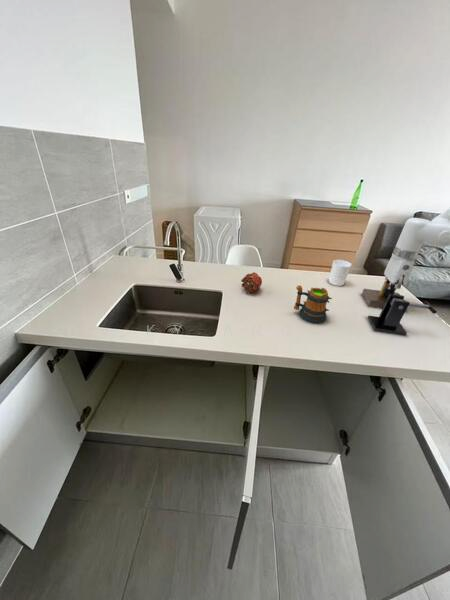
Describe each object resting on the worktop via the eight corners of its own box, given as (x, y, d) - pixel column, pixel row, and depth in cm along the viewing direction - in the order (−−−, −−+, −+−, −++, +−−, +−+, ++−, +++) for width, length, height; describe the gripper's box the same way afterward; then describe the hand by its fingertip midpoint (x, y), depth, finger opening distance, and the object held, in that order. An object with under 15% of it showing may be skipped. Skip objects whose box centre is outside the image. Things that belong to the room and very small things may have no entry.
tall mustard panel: (390, 296, 100) (396, 283, 97) (391, 297, 99) (397, 285, 96) (378, 294, 101) (384, 282, 98) (379, 296, 100) (385, 284, 97)
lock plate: (395, 298, 105) (398, 292, 103) (405, 311, 96) (409, 304, 95) (361, 294, 107) (363, 288, 105) (368, 306, 98) (371, 299, 97)
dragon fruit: (249, 300, 101) (248, 290, 112) (267, 290, 98) (264, 281, 109) (238, 284, 98) (238, 275, 109) (256, 273, 96) (255, 265, 107)
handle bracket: (395, 322, 90) (410, 294, 84) (405, 335, 83) (421, 306, 77) (367, 317, 91) (379, 290, 85) (374, 331, 84) (387, 302, 78)
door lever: (425, 305, 83) (428, 299, 82) (434, 315, 78) (438, 309, 77) (387, 300, 85) (390, 294, 84) (394, 310, 80) (397, 303, 79)
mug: (325, 311, 94) (333, 284, 88) (327, 326, 85) (337, 298, 79) (291, 305, 96) (296, 279, 90) (290, 319, 88) (296, 291, 82)
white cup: (347, 286, 112) (354, 266, 107) (331, 286, 112) (337, 266, 107) (340, 279, 119) (347, 260, 114) (324, 278, 119) (330, 259, 113)
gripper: (427, 262, 83) (403, 307, 93) (406, 247, 96) (388, 288, 106) (403, 259, 84) (382, 304, 94) (386, 245, 97) (369, 285, 107)
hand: (385, 295), depth 100 cm, fingers closed
